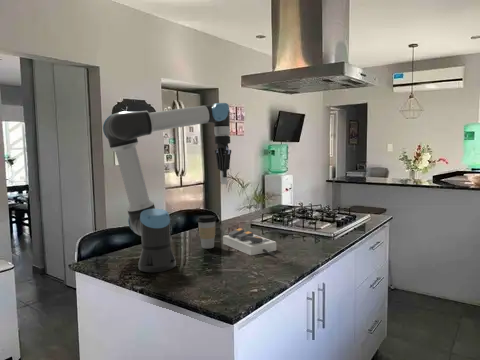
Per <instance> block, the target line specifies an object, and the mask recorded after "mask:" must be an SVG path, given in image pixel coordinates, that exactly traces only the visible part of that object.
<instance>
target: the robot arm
mask: <svg viewBox="0 0 480 360" xmlns="http://www.w3.org/2000/svg"><path fill="white" fill-rule="evenodd" d="M230 120H231V119H230V105H229V103H228V102H227V103H226V102H216V103H213V104H205V105H198V106H191V107H183V108H175V109H169V110H160V111H159V110H158V111H155V112H154V111H153V112H149V111H148V110H140V111H139V110H138V111H119V112H116V113H113V114H110V115H109V116H107V117H106V119H105V120H104V123H103V125H102V131H103V134H104V136H105V137H106V139H107V140H108V144H109V148H110V150H112V151H114V153H115V155H116V160H117V163H118V167H119V171H120V174H121V178H122V181H123V185H124V190H125V192H126V197H127V200H128V203H129V206H128V207H127V209H126V210H127V214H128V218H127V222H128V227H129V228H130V229H131V231H132V232H133V233H134V234H136V235H138V236H139V237H140V238H141V239H140V240H141V252H140V256H139V260H138V263H137V264H138V265H137V266H138V270H139V271H140V272H145V273H160V272H161V273H162V272H166V271H169V270H172V269H174V268H175V267H176V266H177V261H176V258H175V254H174V251H173V249H172V244H171V243H172V242H171V241H172V240H171V218H170V214H169V212H168V211H167V210H166V209H163V208H156V206H155V203H154V201H152V200H150V197H149V194H148V189H147V185H146V182H145V179H144V174H143V170H142V167H141V163H140V159H139V155H138V151H137V145H138V144H139V140H138V138H140V137H144V136H148V135H149V136H150V135H152V134H153V132H157V131H164V130H170V129H171V130H172V129H177V128H178V129H179V128H183V127H188V126H195V125H201V124H213V128H214V135H215V136H214V143H215V145H217V148H216V149H215V150H214V152H215V153H214V154H215V159H216V165H217V169H218V170H219V171H220V185H228V171H229V170H230V166H231V156H232V155H231V154H232V149H229V144H231V136H230V134H231V126H230V125H231V124H230V122H231V121H230Z"/></svg>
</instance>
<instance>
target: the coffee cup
mask: <svg viewBox="0 0 480 360" xmlns="http://www.w3.org/2000/svg"><path fill="white" fill-rule="evenodd" d="M216 222H217V217H216V216H215V215H210V214H209V215H208V214H207V215H206V214H205V215H200V216H199V217H198V218H197V223H198V230H199V231H198V234H199V238H200V243H201V248H202V249H205V250H206V249H212V248H214V247H215V236H216Z"/></svg>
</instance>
